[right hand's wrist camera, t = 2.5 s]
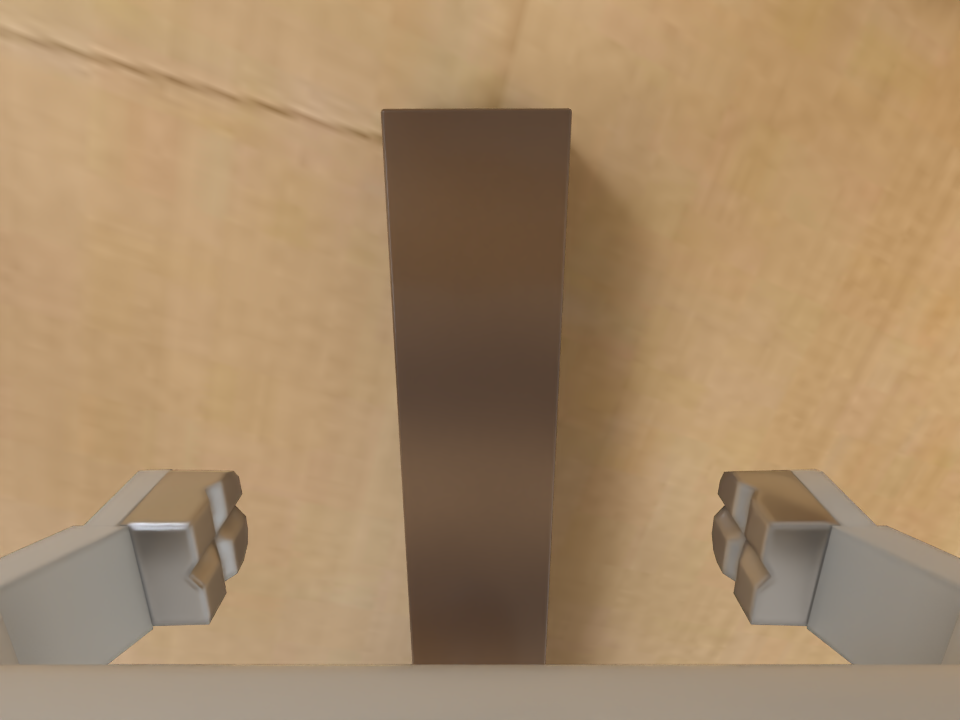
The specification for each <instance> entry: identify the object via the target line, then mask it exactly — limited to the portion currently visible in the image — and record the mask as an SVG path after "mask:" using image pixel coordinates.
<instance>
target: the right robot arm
mask: <svg viewBox="0 0 960 720" xmlns="http://www.w3.org/2000/svg"><path fill="white" fill-rule="evenodd" d="M241 495H242V490H241V485H240V480H239V476H238V475H237V474H236V473H235V472H234V471H214V470H172V469H159V470H142V471H138V472H137V473H136V474H135V475H134V476H133V477H132V478H131V479H130V480H129V481H128V482H127V483H126V484H125V485H124V486H123V487H122V488H121V489H120V490H119V491H118V492H117V493H116V494H115V495H114V496H113V497H112V498H111V499H110V500H109V501H108V502H107V503H106V504H105V505H104V506H103V507H102V508H101V509H100V510H99V511H98V512H97V513H96V514H95V515H94V516H93V517H92V518H91V519H90V520H89V521H88V522H87V523H86V524H85V525H84V526H72V527H69V528H67V529H65V530H63V531H60V532H58V533H56V534H54V535H51V536H49V537H47V538H45V539H42V540H40V541H38V542H35V543H33V544H31V545H29V546H26V547H24V548H22V549H20V550H17V551H15V552H13V553H11V554H8V555H6V556H4V557H1V558H0V720H960V558H958V557H956V556H954V555H952V554H949V553H947V552H945V551H943V550H940V549H938V548H936V547H933V546H931V545H929V544H927V543H924V542H922V541H920V540H918V539H915V538H913V537H911V536H909V535H906V534H904V533H902V532H900V531H897V530H895V529H893V528H891V527H888V526H877V525H875V524H874V523H873V522H872V521H871V520H870V519H869V518H868V517H867V516H866V515H865V514H864V513H863V512H862V511H861V510H860V509H859V508H858V507H857V506H856V505H855V504H854V503H853V502H852V501H851V500H850V499H849V498H848V497H847V496H846V495H845V494H844V493H843V492H842V491H841V490H840V489H839V488H838V487H837V486H836V485H835V484H834V483H833V482H832V481H831V480H830V479H829V478H828V477H827V476H826V475H825V474H824V473H823V472H821V471H819V470H816V469H803V470H772V471H732V472H724V473H723V476H722V478H721V480H720V484H719V490H718V495H719V497H720V498H721V500H722V501H723V503H724V504H725V506H724V507H723V508H722V509H721V510H720V511H719V512H718V513H717V514H716V515H715V516H714V521H713V529H712V541H713V551H714V554H715V557H716V560H717V563H718V565H719V567H720V569H721V571H722V573H723V574H725V575H726V576H728V577H729V578H731V579H732V580H734V581H735V588H734V595H735V597H736V598H737V600H738V602H739V604H740V606H741V607H742V609H743V611H744V613H745V615H746V616H747V618H748V620H749V622H750V624H755V625H791V626H807V629H808V630H809V631H811V632H812V633H813V634H814V635H816V636H817V637H818V638H820V639H821V640H822V641H823V642H825V643H826V644H827V645H829V646H830V647H831V648H832V649H834V650H835V651H836V652H837V653H839V654H840V655H841V656H843V657H844V658H845V659H846V660H848V661H849V662H850V663H851V664H829V665H828V664H827V665H186V664H109V663H110V662H111V661H113V660H114V659H115V658H116V657H118V656H119V655H120V654H121V653H123V652H124V651H125V650H127V649H128V648H129V647H130V646H132V645H133V644H134V643H136V642H137V641H138V640H139V639H141V638H142V637H143V636H145V635H146V634H147V633H148V632H150V631H151V630H152V629H153V626H168V625H204V624H210V622H211V620H212V618H213V616H214V615H215V613H216V611H217V609H218V607H219V606H220V604H221V602H222V600H223V598H224V597H225V595H226V587H225V581H226V580H228V579H229V578H231V577H232V576H234V575H235V574H237V573H238V571H239V569H240V567H241V565H242V563H243V561H244V557H245V553H246V549H247V544H248V527H247V520H246V516H245V515H244V514H243V513H242V512H241V511H240V510H239V509H238V508H237V507H236V506H235V504H236V503H237V501H238V500H239V498H240V497H241Z"/></svg>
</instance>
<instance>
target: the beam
mask: <svg viewBox="0 0 960 720" xmlns="http://www.w3.org/2000/svg"><path fill="white" fill-rule="evenodd" d="M571 119H572V111H571V109H569V108H563V109H383V110H382V111H381V123H382V140H383V158H384V175H385V193H386V210H387V228H388V245H389V263H390V280H391V298H392V315H393V333H394V350H395V368H396V385H397V403H398V420H399V438H400V455H401V473H402V490H403V508H404V525H405V543H406V560H407V578H408V595H409V613H410V630H411V648H412V665H545V662H546V641H547V620H548V599H549V578H550V557H551V536H552V516H553V495H554V474H555V453H556V432H557V411H558V390H559V370H560V349H561V328H562V307H563V286H564V265H565V244H566V224H567V203H568V182H569V161H570V140H571Z"/></svg>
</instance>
